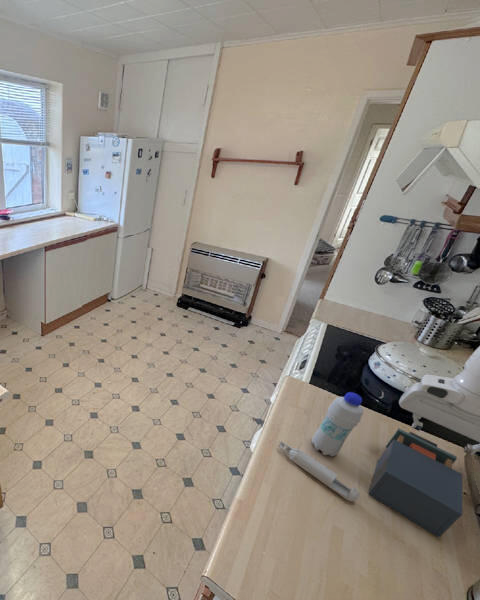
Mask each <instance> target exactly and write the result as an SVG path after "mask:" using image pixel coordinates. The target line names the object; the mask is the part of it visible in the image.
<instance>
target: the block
mask: <svg viewBox="0 0 480 600" xmlns="http://www.w3.org/2000/svg"><path fill="white" fill-rule="evenodd" d="M409 447H410V448H412V449H414V450H416V451H418V452H420V453H422V454H424V455H426V456H428V457H430V458H432V459H434V460H435V459H436V454H434V453H432V452H430V451H428V450H426V449H424V448H422V447H420V446H418V445H416V444H414V443H412V444H411V445H410V446H409Z"/></svg>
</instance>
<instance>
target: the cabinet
mask: <svg viewBox="0 0 480 600" xmlns="http://www.w3.org/2000/svg"><path fill="white" fill-rule="evenodd" d="M367 494H368V495H369V496H370V497H372V498H373V499H376V500H377V501H378V502H380V503H382V504H384V505H385V506H386V507H388V508H390V509H392V510H393V511H394V512H396V513H398V514H399V515H401V516H402V517H404V518H406V519H408V520H410V521H411V522H413V523H414V524H416V525H417V526H419V527H420V528H422V529H424V530H426V531H428V532H429V533H430V534H432V535H434V536H435V537H437V538H440V537H441V536H443V534H444V533H446V531H448V529H449V528H450V527H452V526H453V525H454V524H455V523H456V522H457V521H458V520H459V519H460V518H461V517H462V516H463V473H461V472H459V471H458V470H456V469H454V468H453V467H452V468H450V467H448V466H446V465H444V464H442V463H440V462H438V461H436V460H434V459H432V458H430V457H428V456H426V455H424V454H422V453H420V452H418V451H416V450H414V449H412V448H410V447H408V446H406V445H404V444H402V443H400V442H398V441H396V440H394V439H393V441H392V442H391V444H390V445H389V446H388V448H385V450H384V451H383V453H382V455H381V456H380V457H379V459H377V462H376V465H375V469H374V472H373V476H372V479H371V483H370V485H369V489H368V493H367Z"/></svg>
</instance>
